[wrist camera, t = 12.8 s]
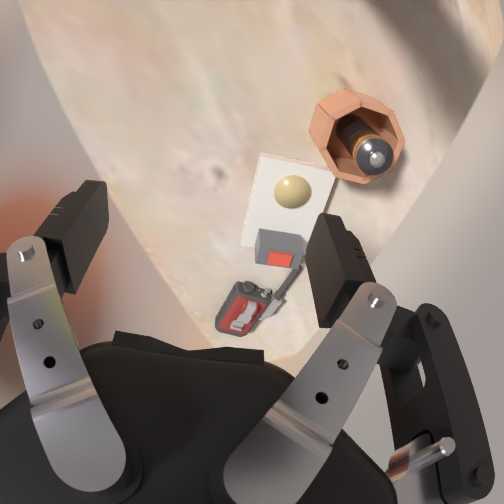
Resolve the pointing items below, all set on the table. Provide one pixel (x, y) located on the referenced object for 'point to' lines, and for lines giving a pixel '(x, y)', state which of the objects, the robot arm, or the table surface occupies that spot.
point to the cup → (333, 148)
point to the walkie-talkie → (249, 306)
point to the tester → (284, 208)
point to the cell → (364, 145)
